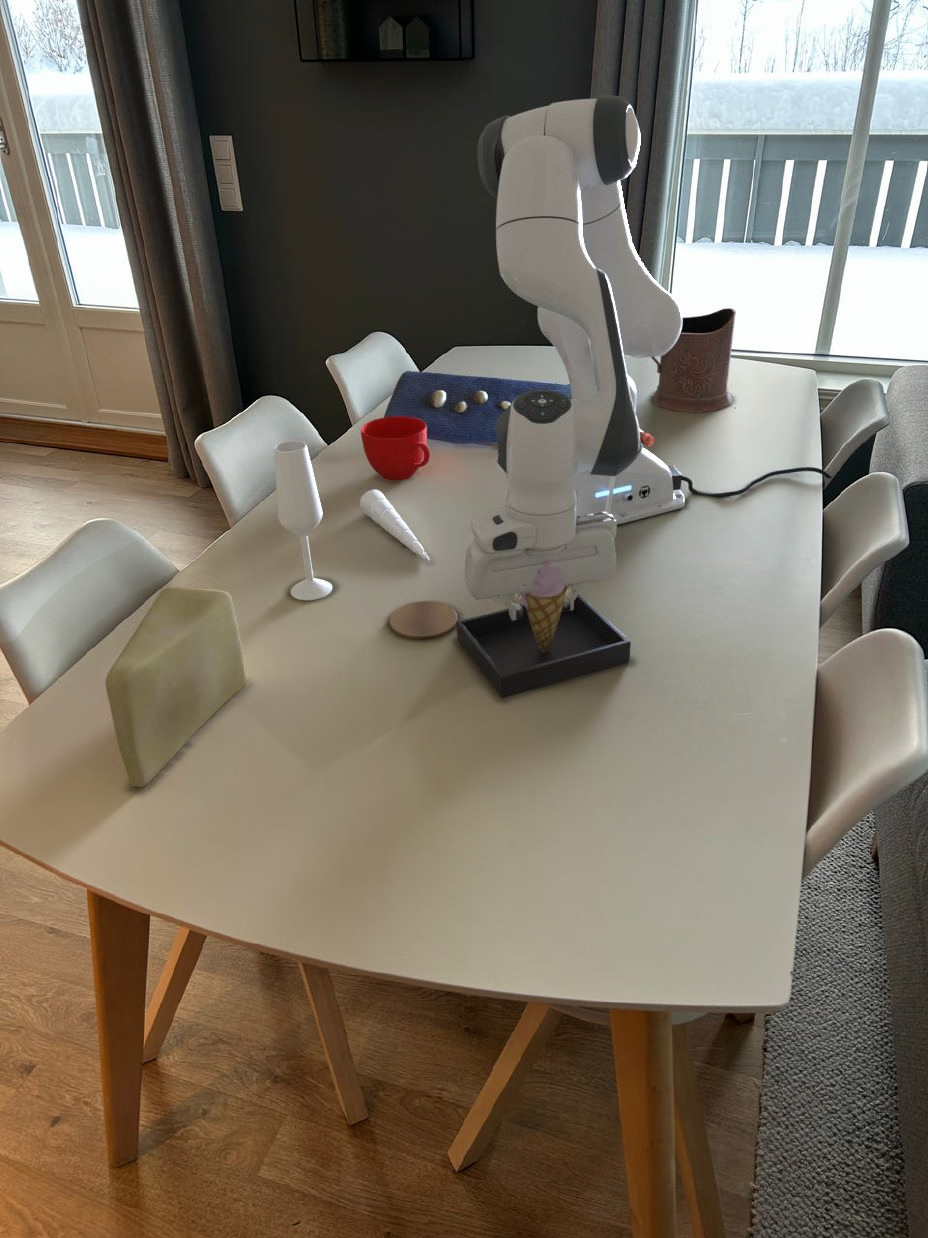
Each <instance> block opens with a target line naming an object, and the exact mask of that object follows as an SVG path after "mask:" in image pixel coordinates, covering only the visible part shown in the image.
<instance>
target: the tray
mask: <svg viewBox="0 0 928 1238" xmlns="http://www.w3.org/2000/svg"><path fill="white" fill-rule="evenodd" d="M520 606H521V607H522V608H523V614H522V615H523V619H519V620H513V621H512V620H511V618H510V616H509V607H508V608H504V609H500V610H497V611H493V612H488V613H485V614H481V615H476V616H473V617H468V618H465V619H462V620H457V622H456V637H457V638H456V639H457V643H458V644H459V645H460V646H461V648H462V649H463V650H464V651H465V653H466V654H467V656H468V657H469V658H470V659H471V661H472V662H473V663H474V665H475V666H476V667H477V669H478V670H479V671H480V672H481V674H482V675H483V677H485V679H486V681H488V683H489V684H490V685H491V687H492V688H493V689H494V691H495V692H496V693H497V695H498V696H499V697H500V698H501V699H504V698H508V697H511V696H515V695H519V694H521V693H525V692H529V691H531V690H535V689H539V688H543V687H546V686H549V685H554V684H557V683H561V682H564V681H567V680H570V679H574V678H578V677H581V676H584V675H588V674H592V673H595V672H599V671H601V670H605V669H609V668H612V667H616V666H619V665H623V664H627V663H630V657H631V645H632V643H631V640H629V638H627V636H626V635H624V633H622V632H621V631H620V630H619V629H618V628H617V627H616V626H614V625H613V623H611V622H610V621H609V620H608V619H607V618H606V617H605V616H603V614H602V613H600V611H598V609H596V608H595V607H594V606H593V605H592V604H591V603H590V602H589V601H588V600H587V599H585V597H583V596H582V595H581V594H580V593H579V594H578V596H577V597H576V599H575V600H574V609H573V610H571V611H565V612H563V611H561V614H560V618H559V621H558V624H557V627H556V630H555V633H554V636H553V639H552V642H551V645H550V648H549V650H548V651H546V652H542V651H540V650H539V648H538V645H537V642H536V639H535V636H534V633H533V630H532V627H531V624H530V621H529V617H528V614H527V610H526V607H525V606H524V605H523V604H520Z"/></svg>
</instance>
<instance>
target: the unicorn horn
mask: <svg viewBox="0 0 928 1238" xmlns="http://www.w3.org/2000/svg"><path fill="white" fill-rule="evenodd" d="M359 507H360V510H361V511H362V513H364V514H365V515H366V516H368V517H369V518H370V519H371V520H372V521H374V523H376V524H378V526H380V527H381V528H382V529H384V531H386V532H387V533H388V534H390V535H391V536H392V537H393V538H395V539H396V540H397V541H399V542H400V543H401V544H402V545H404V546H405V547H407V548H408V549H410V550H411V551H412V552H414V553H415V554H417V556H419V557H421V558H422V559H424V560H426V561H430V557H429V555H428V553H427V552H426V550H425V549H424V547H423V546H422V544H421V543H420V542H419V541H418V539H417V537H416V536H415V535H414V533H413V532H412V530H410V528H409V527H408V525H407V523H406V522H405V521H404V520H403V519H402V517H401V516H400V514H399V513H398V512H397V510H395V508H394V507H393V505H392V504H391V502H389V500H388V499H387V498H386V496H385V495H384V494H383V492H381V491H380V490H379V489H370V490H367V491H366V492H364V493H363V495H362V496H361V497H360V499H359Z"/></svg>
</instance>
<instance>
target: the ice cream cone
mask: <svg viewBox="0 0 928 1238" xmlns="http://www.w3.org/2000/svg"><path fill="white" fill-rule="evenodd" d="M551 563H552V560H551V559H548V560H547V561H545V562H543V563H539V564H544V565H543V568H541V569H539V571H538V574H537V577H536V578H535V580H534V588H532V589H531V591H529V592H523V593H518V595H519V596H520V597H519V599H520V601H521V603H522V605H524V606H525V607H526V610H527V614H528V617H529V621H530V624H531V627H532V630H533V633H534V636H535V639H536V642H537V645H538V648H539V650H540V651H542V652H546V651H548V650H549V648H550V645H551V642H552V639H553V636H554V633H555V630H556V627H557V624H558V621H559V618H560V614H561V611H562V607H563V603H564V598H565V594H566V592H567V590H568V585H565V584H564V583H562V582H561V581H560V579H561V577H562V576H563V574H562V573H559V572H558V568H557V567H552V568H549V569H547V568H548V567H550V565H551ZM545 569H546V570H545ZM524 586H526V585H524Z"/></svg>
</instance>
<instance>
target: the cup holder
mask: <svg viewBox="0 0 928 1238" xmlns="http://www.w3.org/2000/svg"><path fill="white" fill-rule="evenodd" d="M736 312H737V311H736V309H734V308H733V307H725V308H722V309H720V310H716V311H714V312H712V313H707V314H702V315H696V316H695V315H694V316H685V317H683V316H682V329H681V333H680V336H679V338H678V340H677V342H676V343H675V345H674V346H673V347H672V348H671V349H670V350H669V351H668V352H667V353H666V354H665V355H663V356H660V362H659V360H658V359H657V358H656V357H650V358H651V359H652V360H653V361H654V363H655V364H656V373H657V374H659V376H658V384H657V386H656V391H655V392H654V393H653V395H652V396H651V400H652V402H653V403H654V404H656V405H657V406H659V407H662V408H665V409H667V410H673V411H678V412H688V413H691V412H692V413H693V412H694V413H695V412H696V413H700V412H713V411H717V410H721V409H723V408H726V407H728V406H729V405H731V403H732V397H731V395H730V393H729V385H728V384H729V376H730V375H729V374H730V367H731V359H732V358H731V357H732V351H733V350H732V348H733V341H734V331H735V322H736Z"/></svg>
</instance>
